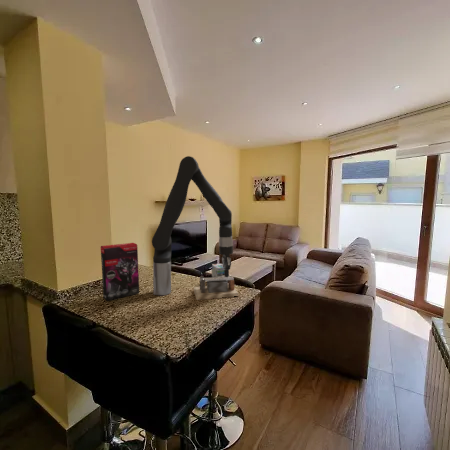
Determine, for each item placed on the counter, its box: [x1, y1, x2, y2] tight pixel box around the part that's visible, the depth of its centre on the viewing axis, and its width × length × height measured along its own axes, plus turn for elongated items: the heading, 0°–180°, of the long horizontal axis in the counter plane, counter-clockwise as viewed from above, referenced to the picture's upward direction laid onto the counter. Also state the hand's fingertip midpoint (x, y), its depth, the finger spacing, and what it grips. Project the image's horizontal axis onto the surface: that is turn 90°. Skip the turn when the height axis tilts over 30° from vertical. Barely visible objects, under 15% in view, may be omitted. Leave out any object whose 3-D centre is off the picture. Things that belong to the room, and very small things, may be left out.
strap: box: [199, 275, 235, 282], centre depth 136 cm, size 18×4×2 cm, turn 103°
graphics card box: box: [100, 242, 140, 302], centre depth 130 cm, size 17×7×27 cm, turn 132°
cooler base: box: [193, 275, 239, 301], centre depth 136 cm, size 22×14×9 cm, turn 103°
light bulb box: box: [211, 263, 228, 282], centre depth 154 cm, size 11×7×11 cm, turn 22°
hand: (226, 276), depth 137 cm, fingers closed
